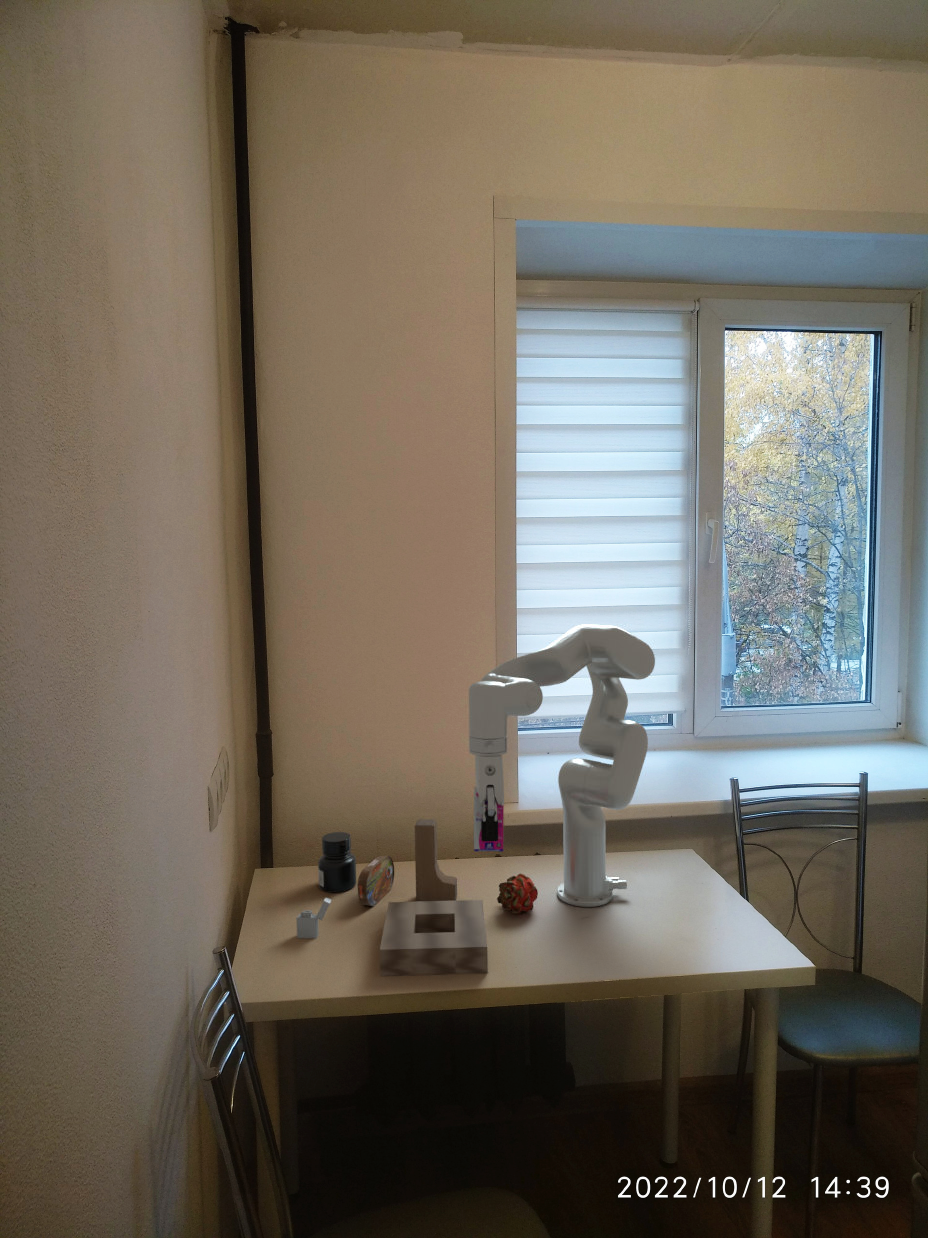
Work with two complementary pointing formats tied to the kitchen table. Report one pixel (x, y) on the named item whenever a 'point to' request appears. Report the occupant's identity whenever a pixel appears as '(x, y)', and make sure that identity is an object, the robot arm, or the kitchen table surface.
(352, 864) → the ink bottle
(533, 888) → the dragon fruit
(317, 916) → the lighter
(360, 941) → the kitchen table surface
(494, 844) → the supplement box
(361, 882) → the tin
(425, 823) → the wooden block
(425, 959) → the socket block
